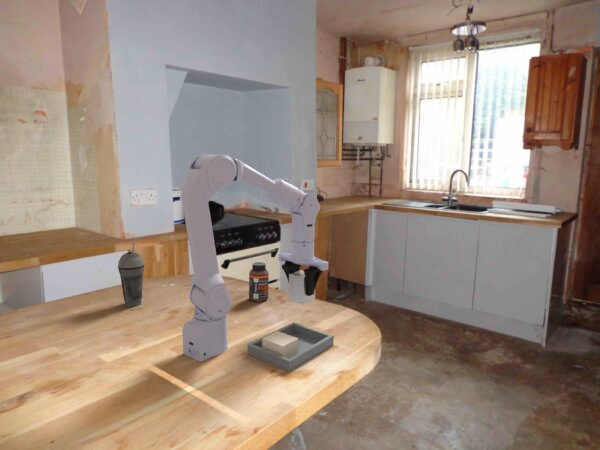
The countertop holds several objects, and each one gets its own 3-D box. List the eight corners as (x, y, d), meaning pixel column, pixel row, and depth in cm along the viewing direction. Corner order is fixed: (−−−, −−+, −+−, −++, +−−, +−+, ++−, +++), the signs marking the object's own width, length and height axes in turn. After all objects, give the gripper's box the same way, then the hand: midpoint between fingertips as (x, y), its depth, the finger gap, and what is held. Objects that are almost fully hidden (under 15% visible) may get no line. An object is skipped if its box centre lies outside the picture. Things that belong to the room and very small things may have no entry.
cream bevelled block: (283, 364, 89) (283, 346, 89) (262, 355, 93) (262, 338, 92) (297, 355, 93) (298, 338, 92) (277, 347, 97) (277, 330, 96)
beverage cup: (119, 301, 126) (115, 235, 123) (145, 298, 130) (142, 234, 126) (120, 309, 120) (116, 240, 117) (147, 306, 123) (144, 238, 120)
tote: (289, 375, 86) (289, 361, 86) (247, 357, 94) (247, 344, 93) (333, 347, 99) (333, 335, 98) (293, 333, 106) (293, 322, 106)
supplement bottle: (259, 304, 126) (259, 267, 124) (244, 299, 130) (244, 263, 128) (272, 298, 131) (272, 263, 129) (258, 294, 134) (258, 260, 133)
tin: (303, 304, 106) (304, 277, 104) (288, 300, 108) (289, 273, 107) (315, 299, 109) (315, 273, 108) (300, 295, 112) (300, 269, 111)
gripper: (335, 242, 105) (334, 294, 107) (290, 234, 114) (290, 283, 116) (319, 246, 99) (317, 302, 102) (273, 238, 108) (272, 289, 111)
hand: (301, 292), depth 108 cm, fingers closed on tin, 5 cm apart
